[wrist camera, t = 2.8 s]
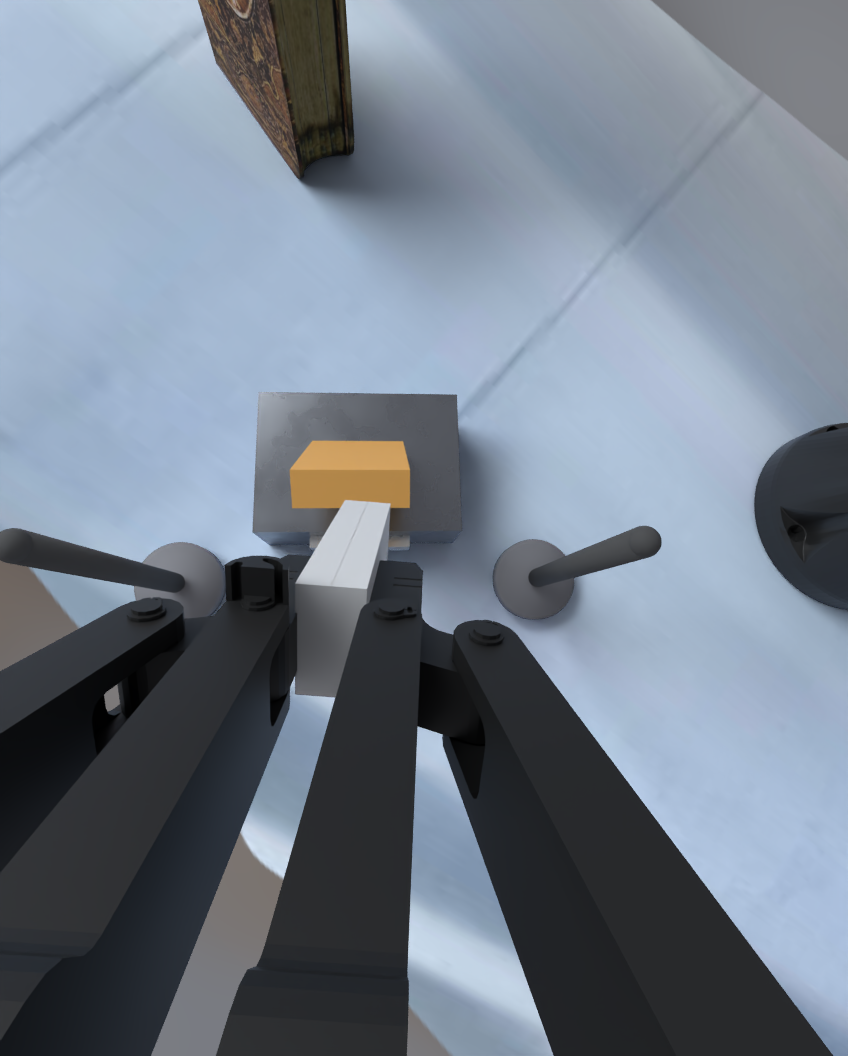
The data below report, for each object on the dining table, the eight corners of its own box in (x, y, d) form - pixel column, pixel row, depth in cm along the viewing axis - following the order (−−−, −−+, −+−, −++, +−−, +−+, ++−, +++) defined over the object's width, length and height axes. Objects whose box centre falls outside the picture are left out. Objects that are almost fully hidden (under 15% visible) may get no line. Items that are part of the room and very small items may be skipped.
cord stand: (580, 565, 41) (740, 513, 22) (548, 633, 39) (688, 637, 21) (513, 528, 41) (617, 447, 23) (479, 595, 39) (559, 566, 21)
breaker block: (452, 552, 40) (462, 542, 35) (268, 555, 39) (252, 544, 34) (448, 422, 42) (456, 394, 37) (273, 420, 41) (258, 392, 36)
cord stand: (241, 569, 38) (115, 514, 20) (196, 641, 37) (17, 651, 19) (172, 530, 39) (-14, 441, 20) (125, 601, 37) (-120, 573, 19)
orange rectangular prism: (405, 468, 36) (413, 507, 27) (312, 468, 35) (288, 508, 26) (405, 439, 35) (413, 470, 26) (310, 438, 35) (285, 469, 26)
